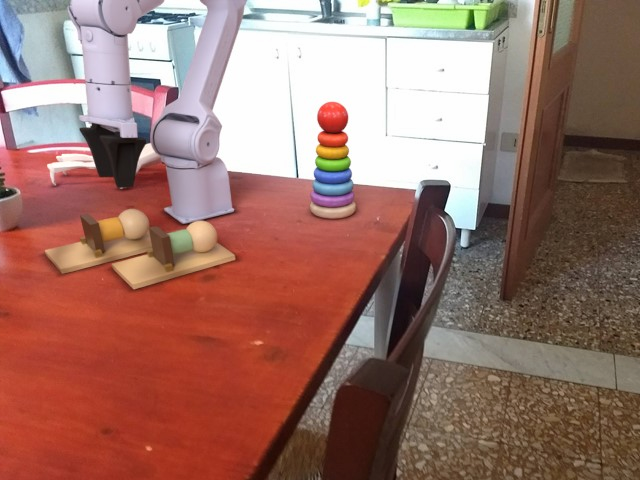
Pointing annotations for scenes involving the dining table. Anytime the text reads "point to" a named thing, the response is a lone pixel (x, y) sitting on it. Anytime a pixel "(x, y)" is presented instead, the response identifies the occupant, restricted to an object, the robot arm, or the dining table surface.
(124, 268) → the thin cream rectangular board
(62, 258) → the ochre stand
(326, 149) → the stacking toy
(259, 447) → the dining table surface
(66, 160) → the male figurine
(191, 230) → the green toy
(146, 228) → the ochre toy
